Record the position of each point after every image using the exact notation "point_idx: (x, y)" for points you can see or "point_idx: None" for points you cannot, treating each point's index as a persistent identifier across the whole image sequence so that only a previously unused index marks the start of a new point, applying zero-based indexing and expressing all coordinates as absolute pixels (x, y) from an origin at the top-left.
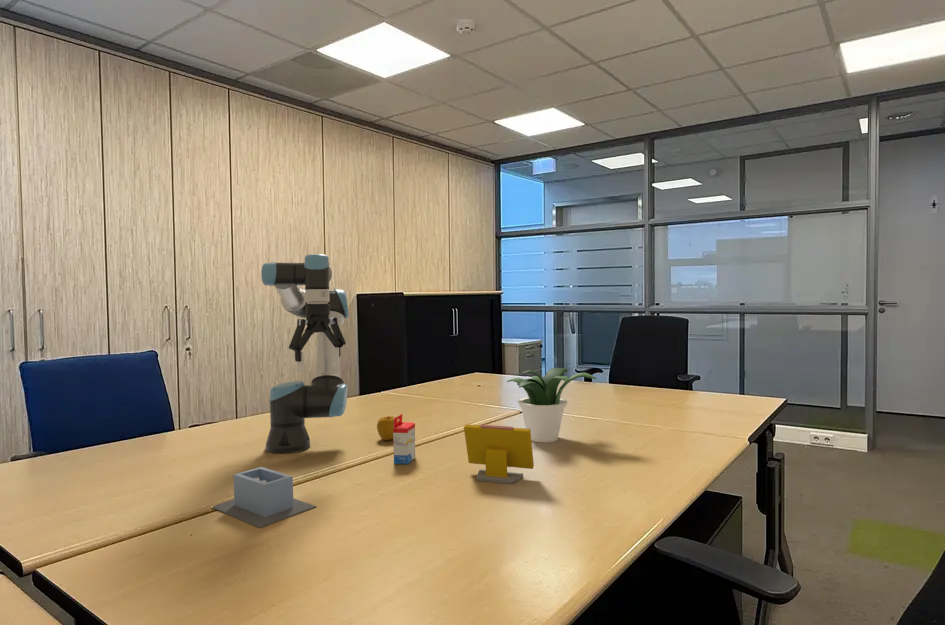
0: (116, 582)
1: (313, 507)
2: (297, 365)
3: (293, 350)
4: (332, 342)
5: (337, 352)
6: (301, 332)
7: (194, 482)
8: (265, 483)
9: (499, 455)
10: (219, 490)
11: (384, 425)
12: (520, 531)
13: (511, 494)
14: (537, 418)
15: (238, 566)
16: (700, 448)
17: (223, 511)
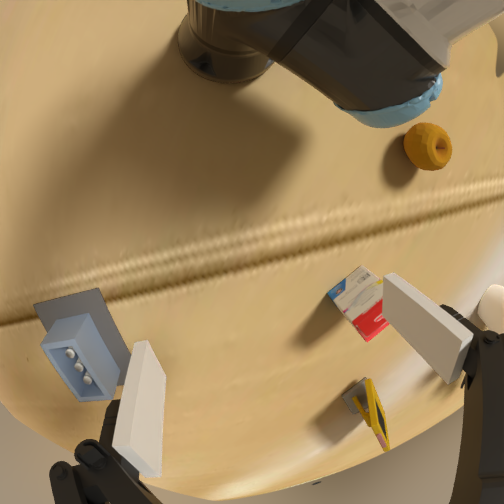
0: (5, 392)
1: None
2: (130, 371)
3: (85, 444)
4: (475, 383)
5: (431, 365)
6: None
7: (18, 171)
8: (80, 398)
9: (365, 421)
10: (40, 240)
11: (420, 159)
12: (271, 467)
13: (328, 428)
14: (493, 329)
15: (72, 425)
16: None
17: (46, 330)
